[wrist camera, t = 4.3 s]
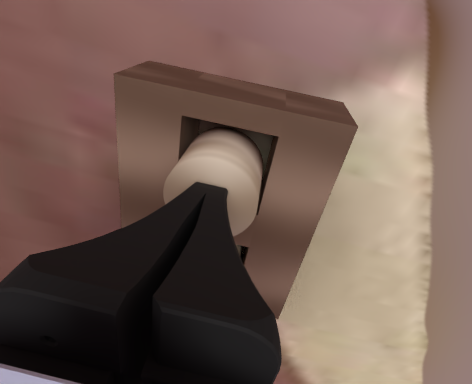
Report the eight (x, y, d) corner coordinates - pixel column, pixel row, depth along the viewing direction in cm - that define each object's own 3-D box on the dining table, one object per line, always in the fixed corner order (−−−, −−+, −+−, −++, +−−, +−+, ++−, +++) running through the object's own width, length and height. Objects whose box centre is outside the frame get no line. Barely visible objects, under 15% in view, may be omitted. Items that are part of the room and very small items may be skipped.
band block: (279, 275, 24) (278, 319, 20) (146, 244, 24) (124, 282, 21) (343, 102, 16) (358, 126, 13) (148, 60, 16) (113, 73, 13)
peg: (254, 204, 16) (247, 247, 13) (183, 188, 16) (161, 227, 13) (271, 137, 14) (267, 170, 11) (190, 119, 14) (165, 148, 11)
